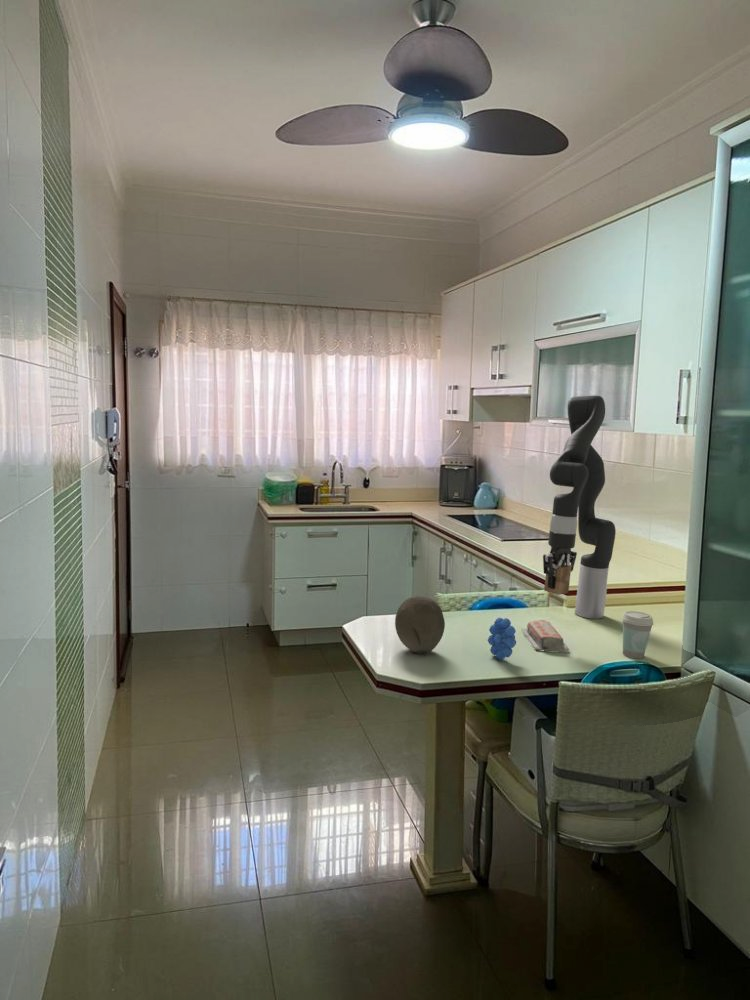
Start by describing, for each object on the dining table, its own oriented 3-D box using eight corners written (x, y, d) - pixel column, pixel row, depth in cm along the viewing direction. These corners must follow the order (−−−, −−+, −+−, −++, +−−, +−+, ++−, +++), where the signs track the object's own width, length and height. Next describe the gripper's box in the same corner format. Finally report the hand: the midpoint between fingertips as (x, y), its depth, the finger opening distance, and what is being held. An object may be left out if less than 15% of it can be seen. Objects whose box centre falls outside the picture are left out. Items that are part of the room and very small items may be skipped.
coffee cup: (625, 659, 205) (630, 618, 204) (613, 649, 214) (618, 609, 212) (654, 661, 206) (659, 620, 204) (641, 650, 214) (646, 611, 213)
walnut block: (554, 588, 218) (556, 562, 217) (568, 592, 214) (571, 566, 213) (544, 590, 215) (547, 564, 214) (558, 594, 211) (561, 567, 210)
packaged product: (571, 638, 207) (536, 636, 207) (569, 654, 208) (535, 652, 208) (554, 618, 225) (522, 616, 225) (552, 634, 226) (520, 632, 225)
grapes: (525, 666, 195) (529, 622, 193) (503, 668, 192) (508, 624, 190) (501, 650, 205) (505, 609, 204) (481, 652, 203) (485, 611, 201)
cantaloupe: (453, 653, 200) (458, 600, 198) (417, 663, 191) (422, 608, 189) (417, 638, 211) (421, 588, 208) (381, 647, 201) (385, 594, 199)
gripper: (566, 526, 220) (560, 581, 222) (537, 529, 210) (531, 587, 212) (587, 531, 214) (581, 587, 216) (559, 534, 205) (553, 593, 207)
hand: (556, 586), depth 214 cm, fingers closed on walnut block, 5 cm apart
